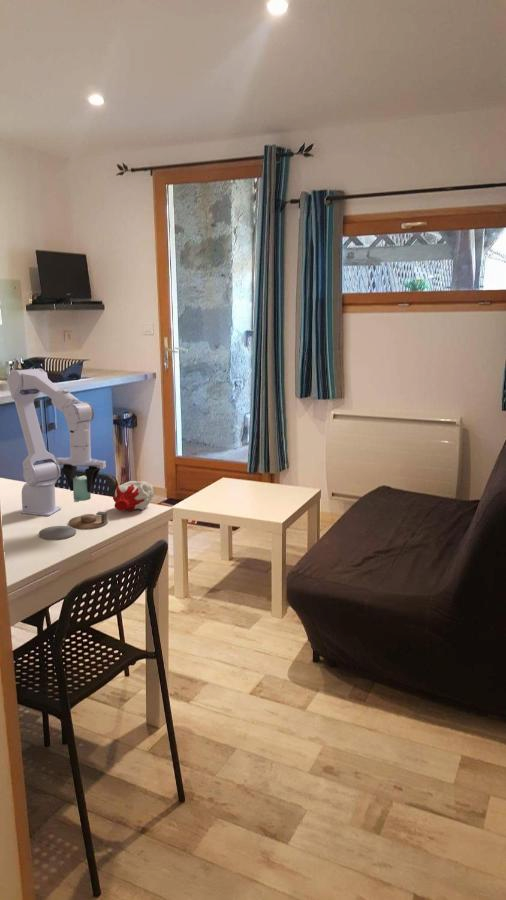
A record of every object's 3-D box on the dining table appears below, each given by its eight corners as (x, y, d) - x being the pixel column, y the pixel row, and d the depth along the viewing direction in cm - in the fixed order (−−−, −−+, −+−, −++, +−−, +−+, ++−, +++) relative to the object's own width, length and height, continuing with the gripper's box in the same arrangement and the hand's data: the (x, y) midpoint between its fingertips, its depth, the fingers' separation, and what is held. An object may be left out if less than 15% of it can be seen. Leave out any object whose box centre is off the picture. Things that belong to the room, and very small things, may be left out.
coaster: (32, 537, 180) (31, 535, 180) (50, 526, 189) (50, 524, 189) (65, 541, 178) (65, 539, 178) (82, 529, 187) (82, 527, 187)
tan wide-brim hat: (61, 527, 189) (61, 515, 188) (79, 515, 200) (79, 504, 199) (97, 530, 187) (97, 519, 186) (114, 518, 198) (113, 507, 197)
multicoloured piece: (155, 502, 213) (139, 522, 199) (123, 499, 215) (104, 519, 201) (154, 477, 210) (137, 495, 196) (121, 474, 212) (102, 492, 198)
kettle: (78, 495, 193) (77, 474, 191) (93, 496, 192) (92, 475, 190) (68, 501, 186) (67, 479, 185) (83, 502, 185) (82, 481, 184)
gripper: (49, 445, 184) (51, 492, 187) (98, 449, 181) (99, 496, 184) (62, 441, 191) (63, 485, 194) (108, 444, 188) (109, 489, 191)
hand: (81, 490), depth 189 cm, fingers closed on kettle, 5 cm apart
